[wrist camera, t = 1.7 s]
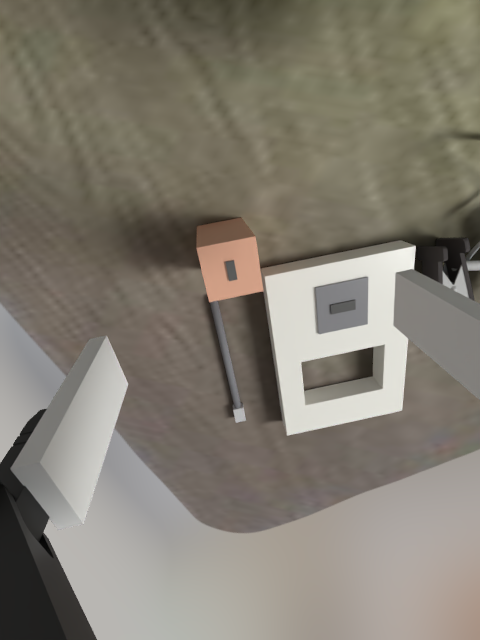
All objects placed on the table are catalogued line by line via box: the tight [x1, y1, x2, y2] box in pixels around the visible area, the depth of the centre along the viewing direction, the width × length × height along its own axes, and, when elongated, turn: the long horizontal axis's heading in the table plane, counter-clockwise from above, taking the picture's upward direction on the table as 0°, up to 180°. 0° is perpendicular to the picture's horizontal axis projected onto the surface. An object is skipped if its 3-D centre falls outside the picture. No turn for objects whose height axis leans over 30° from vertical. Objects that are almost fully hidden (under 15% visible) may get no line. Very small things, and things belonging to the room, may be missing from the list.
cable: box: [210, 301, 246, 423], centre depth 35 cm, size 16×1×1 cm, turn 10°
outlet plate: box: [260, 240, 416, 435], centre depth 34 cm, size 20×14×3 cm
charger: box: [196, 218, 263, 302], centre depth 26 cm, size 4×4×8 cm
